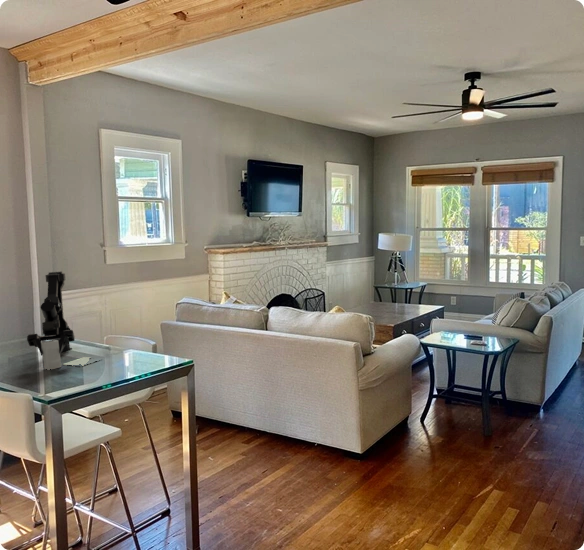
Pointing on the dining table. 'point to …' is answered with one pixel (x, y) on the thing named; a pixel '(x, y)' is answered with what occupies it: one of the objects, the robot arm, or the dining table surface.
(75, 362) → the mat
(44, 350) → the skincare box
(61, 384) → the dining table surface
